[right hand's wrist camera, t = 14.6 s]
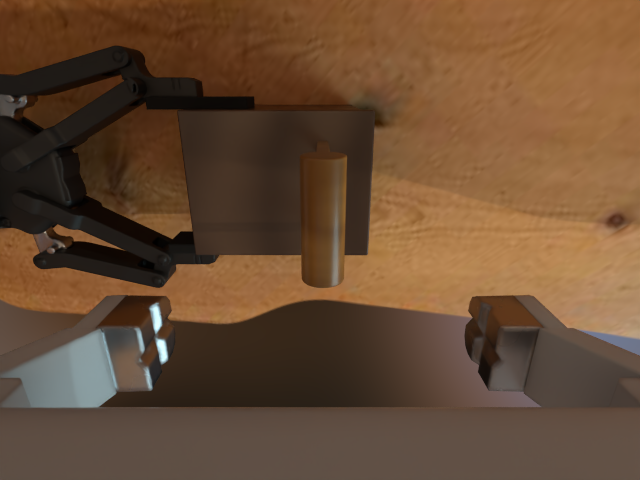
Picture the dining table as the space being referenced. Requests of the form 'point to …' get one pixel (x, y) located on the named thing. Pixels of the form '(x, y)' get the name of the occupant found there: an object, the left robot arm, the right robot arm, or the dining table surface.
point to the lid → (280, 184)
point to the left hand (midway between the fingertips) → (255, 177)
